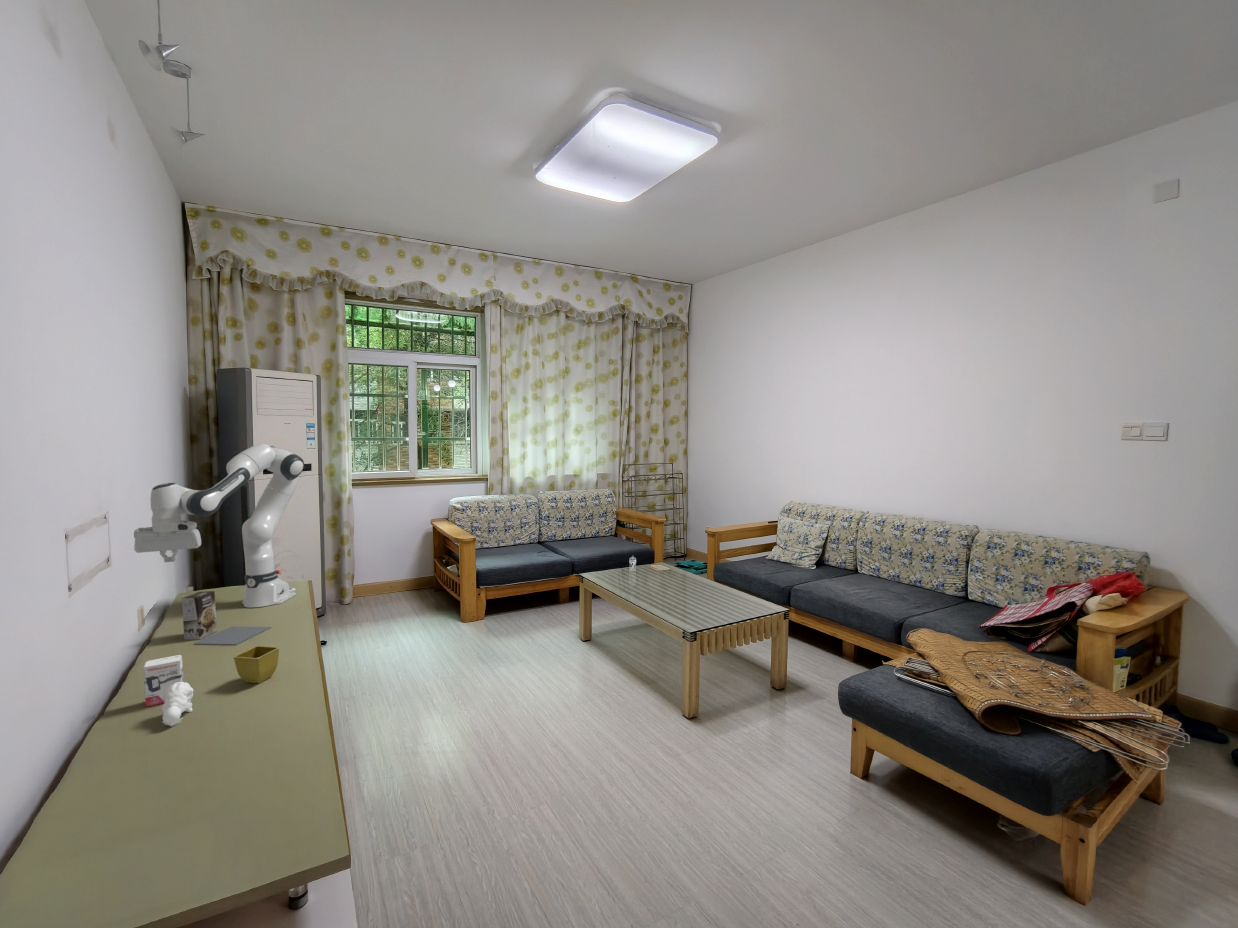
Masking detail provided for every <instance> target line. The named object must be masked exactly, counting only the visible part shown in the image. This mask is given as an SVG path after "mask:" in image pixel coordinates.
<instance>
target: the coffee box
mask: <svg viewBox="0 0 1238 928" xmlns="http://www.w3.org/2000/svg"><path fill="white" fill-rule="evenodd" d="M181 605H182V606H181V607H182V608H181V609H182V623H183V624H182V625H183V639H184V640H187V641H188V640H191V641H192V640H195V641H196V640H198V641H200V640H202V639H205V638H207V637H209V636H211V635H213V634H215V633H217V632H218V625H217V611H216V609H217V608H216V594H215V590H214V591H213V590H211V591H205V590H204V591H198V592H195V593H192V594H190V595H187V596H184V597H181Z"/></svg>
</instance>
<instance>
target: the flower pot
mask: <svg viewBox="0 0 1238 928" xmlns="http://www.w3.org/2000/svg"><path fill="white" fill-rule="evenodd" d="M279 655H280V648H279V647H278V646H264V645H256V646H253V647H251V648H249V649H246V651H243V652H241V653H239V654H236V655H234V656H233V660H234V664H235V668H236V672H237V674H238V676H239V678H241V680H243V681H244V682H245V683H252V684H260V683H262V682H264V681H266V680H268V679H269V678H271V677H272V676H273V675H274V673H275V671H276V669H277V667H278V665H279V664H278V663H279Z"/></svg>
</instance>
